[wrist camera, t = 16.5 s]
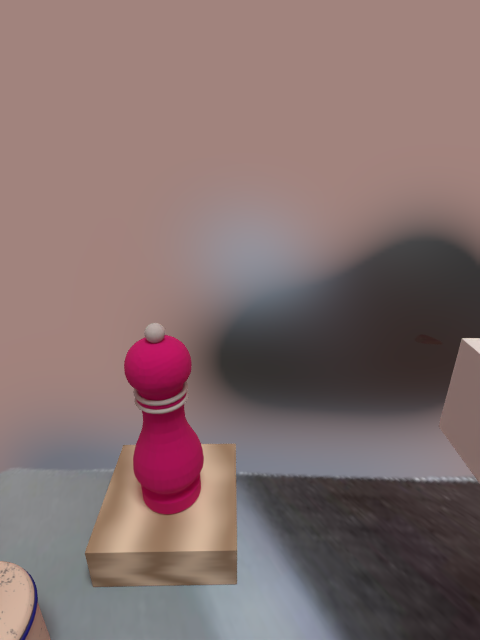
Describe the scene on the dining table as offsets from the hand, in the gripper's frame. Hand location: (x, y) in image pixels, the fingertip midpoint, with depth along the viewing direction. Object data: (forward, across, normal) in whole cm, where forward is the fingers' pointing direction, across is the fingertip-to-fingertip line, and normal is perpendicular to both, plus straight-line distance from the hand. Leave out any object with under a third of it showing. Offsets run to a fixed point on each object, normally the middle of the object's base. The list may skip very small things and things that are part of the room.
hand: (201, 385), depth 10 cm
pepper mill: (+22, -6, -29) cm, 37 cm away
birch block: (+22, -6, -34) cm, 41 cm away
